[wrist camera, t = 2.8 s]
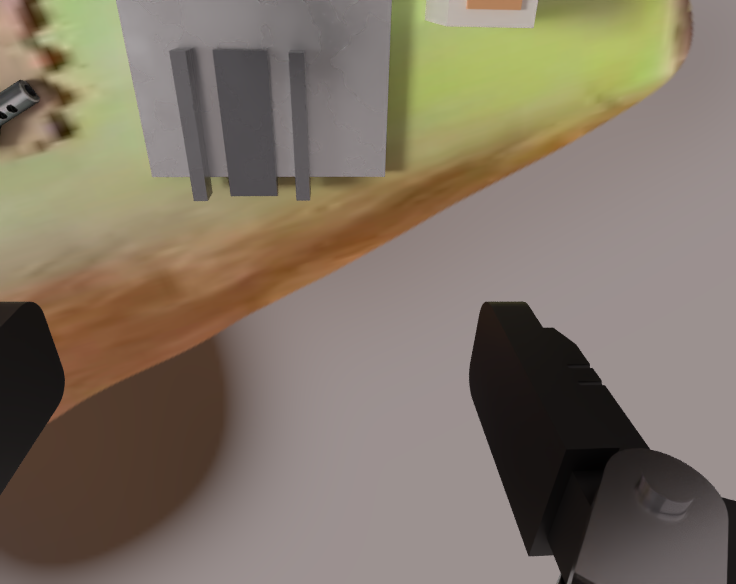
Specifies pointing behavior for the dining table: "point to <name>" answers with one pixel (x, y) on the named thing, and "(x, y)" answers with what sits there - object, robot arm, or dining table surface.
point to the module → (482, 13)
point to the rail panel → (260, 89)
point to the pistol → (16, 100)
